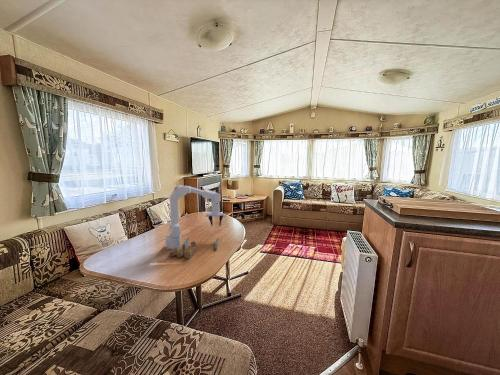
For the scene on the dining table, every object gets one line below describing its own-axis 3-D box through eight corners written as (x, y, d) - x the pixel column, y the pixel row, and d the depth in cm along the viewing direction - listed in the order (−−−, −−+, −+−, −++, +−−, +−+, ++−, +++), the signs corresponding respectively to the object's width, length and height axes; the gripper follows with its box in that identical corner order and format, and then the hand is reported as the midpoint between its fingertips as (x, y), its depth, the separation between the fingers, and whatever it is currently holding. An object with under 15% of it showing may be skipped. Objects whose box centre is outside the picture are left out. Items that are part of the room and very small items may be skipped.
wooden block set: (166, 251, 123) (172, 244, 133) (171, 264, 124) (177, 256, 134) (194, 242, 122) (198, 236, 132) (199, 255, 123) (203, 247, 133)
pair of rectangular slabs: (183, 250, 135) (182, 244, 134) (187, 243, 146) (187, 237, 146) (216, 250, 136) (216, 244, 135) (218, 243, 148) (218, 237, 147)
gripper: (205, 209, 148) (205, 227, 150) (225, 209, 148) (225, 227, 150) (206, 207, 155) (207, 224, 157) (225, 207, 155) (225, 224, 157)
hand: (216, 225), depth 154 cm, fingers open, 5 cm apart
